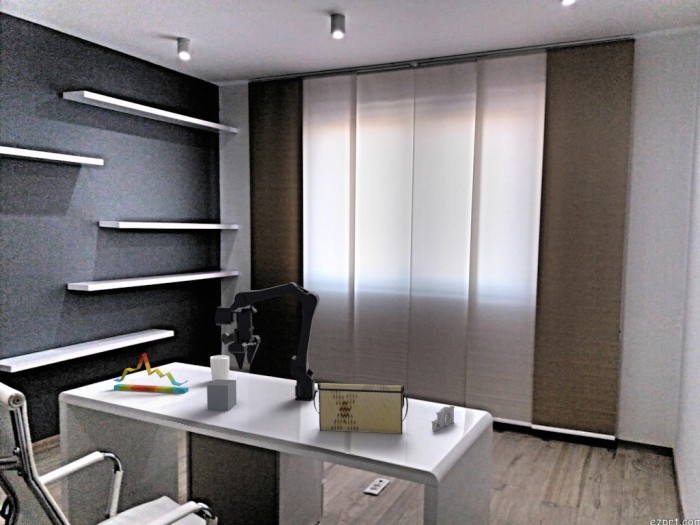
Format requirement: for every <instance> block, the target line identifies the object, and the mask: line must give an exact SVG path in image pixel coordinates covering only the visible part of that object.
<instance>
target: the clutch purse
mask: <svg viewBox="0 0 700 525" xmlns="http://www.w3.org/2000/svg"><path fill="white" fill-rule="evenodd" d="M316 386H317V387H315V393H314V396H313V400H312V402H313V406H314V409H315V411H316V412H317V414H318V424H319V426H318V428H319V431H340V432H341V431H343V432H365V433H367V432H368V433H370V432H371V433H387V434H388V433H389V434H401V435H403V428H404V427H403V425H404V424H403V422H404V421H405V419H406V417H407V415H408V409H409V398H408V394H409V392H408V390H405V385H397V384H396V385H395V384H394V385H388V384H362V383H361V384H359V383H329V382H328V383H327V382H318V383H317V385H316ZM317 393H318V409H317V408H316V396H317ZM315 395H316V396H315ZM405 403H406V410H405V415H403V409H404V407H405ZM403 417H404V418H403Z"/></svg>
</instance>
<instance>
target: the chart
mask: <svg viewBox="0 0 700 525" xmlns="http://www.w3.org/2000/svg"><path fill="white" fill-rule="evenodd" d="M143 362H144V365H145V368H146V372H147V376H148V377H149V376H152V374H154V373H156V375H157V376H158V377H159V378H160V379H161V378H163V377H165V376H167V378H168V379H169V381H170V383H171V385H173V386H168V385H165V386H164V385H148V384H146V385H144V384H126V383H125V384H124V383H120V382H123V381H124V380H125V378H126V375H127V374H128V372H130V373H131V372H135V371H137V370H140V369H141V367H142V364H143ZM173 376H174V375H172V373H171V372H170V371H169V372H167V373H165V374H163V372H162V371H161V370H160V369H159V368H158V367H157V368H155V369H153V370H152V369H151V365H150V362H149V359H148V356H147V353H146V352H144V353H142V354H141V356H140V359H139V361H138V364H137V366H136V368H131V367H128V368H125V369H124V371H123V372H122V374H121V377H120V378H119V377H118V378H115V379H113V381H114V382H118V383H116V384H114V385H113V391H114V390H115V391H126V392H127V391H130V392H145V393H146V392H148V393H149V392H151V393H168V394H169V393H170V394H186V393H188V392H189V390H190V389H189V387H187V386H186V387H185V386H181V385H184V384H186V383H188V380H186V381H184V382H182V383H181V382H178V381H176V379H175V378H174V377H173Z"/></svg>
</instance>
